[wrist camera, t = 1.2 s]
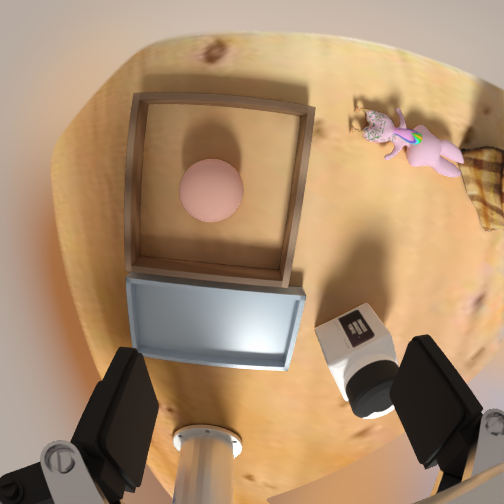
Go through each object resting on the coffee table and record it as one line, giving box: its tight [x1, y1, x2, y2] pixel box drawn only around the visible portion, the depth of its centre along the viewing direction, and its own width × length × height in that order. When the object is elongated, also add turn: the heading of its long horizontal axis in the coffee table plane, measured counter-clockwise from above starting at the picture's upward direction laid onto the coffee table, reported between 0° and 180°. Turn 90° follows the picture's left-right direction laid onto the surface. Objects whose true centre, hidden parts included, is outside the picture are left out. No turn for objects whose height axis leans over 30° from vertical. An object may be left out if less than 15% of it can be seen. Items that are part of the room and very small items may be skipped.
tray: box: [125, 272, 306, 371], centre depth 34 cm, size 11×20×2 cm, turn 83°
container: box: [315, 303, 399, 419], centre depth 30 cm, size 8×8×13 cm
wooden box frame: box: [124, 92, 316, 288], centre depth 28 cm, size 18×17×3 cm
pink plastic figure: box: [350, 106, 464, 177], centre depth 26 cm, size 6×6×15 cm
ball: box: [179, 159, 243, 222], centre depth 27 cm, size 6×6×6 cm
